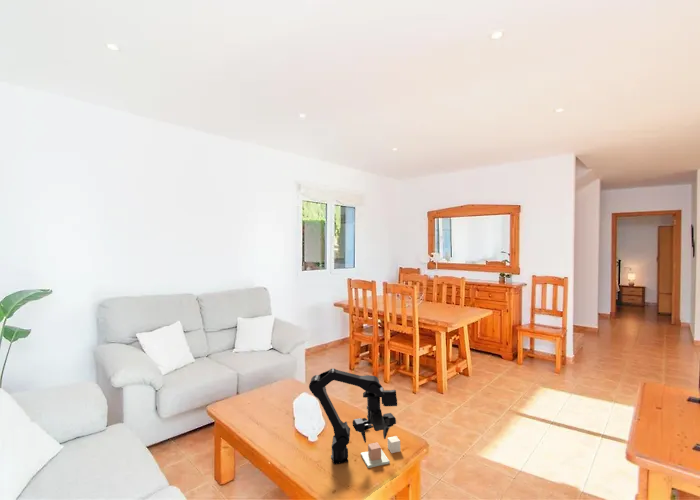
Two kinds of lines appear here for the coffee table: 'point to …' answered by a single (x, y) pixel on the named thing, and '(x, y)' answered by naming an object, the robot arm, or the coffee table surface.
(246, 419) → the coffee table surface
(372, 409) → the robot arm
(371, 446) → the terracotta brick
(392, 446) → the cream brick
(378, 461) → the plate
